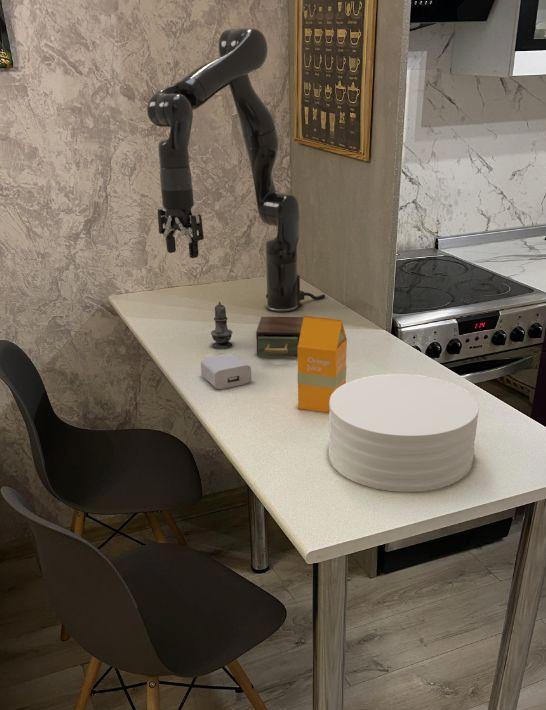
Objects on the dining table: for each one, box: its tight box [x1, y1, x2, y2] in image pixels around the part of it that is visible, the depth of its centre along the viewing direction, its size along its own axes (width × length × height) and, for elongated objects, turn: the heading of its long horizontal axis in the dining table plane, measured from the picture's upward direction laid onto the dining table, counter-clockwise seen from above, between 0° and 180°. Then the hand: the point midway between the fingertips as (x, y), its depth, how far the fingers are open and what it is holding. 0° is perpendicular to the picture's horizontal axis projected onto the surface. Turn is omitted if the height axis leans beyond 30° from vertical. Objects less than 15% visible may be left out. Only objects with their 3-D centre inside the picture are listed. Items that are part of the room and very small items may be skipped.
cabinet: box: [255, 316, 304, 356], centre depth 199 cm, size 12×11×6 cm
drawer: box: [257, 335, 298, 357], centre depth 195 cm, size 16×10×5 cm, turn 176°
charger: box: [200, 353, 252, 390], centre depth 183 cm, size 5×9×15 cm
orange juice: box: [297, 315, 348, 414], centre depth 164 cm, size 8×9×20 cm
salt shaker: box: [210, 301, 234, 350], centre depth 200 cm, size 6×6×12 cm
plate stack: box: [328, 373, 480, 493], centre depth 145 cm, size 28×28×12 cm
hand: (182, 254), depth 189 cm, fingers open, 8 cm apart
